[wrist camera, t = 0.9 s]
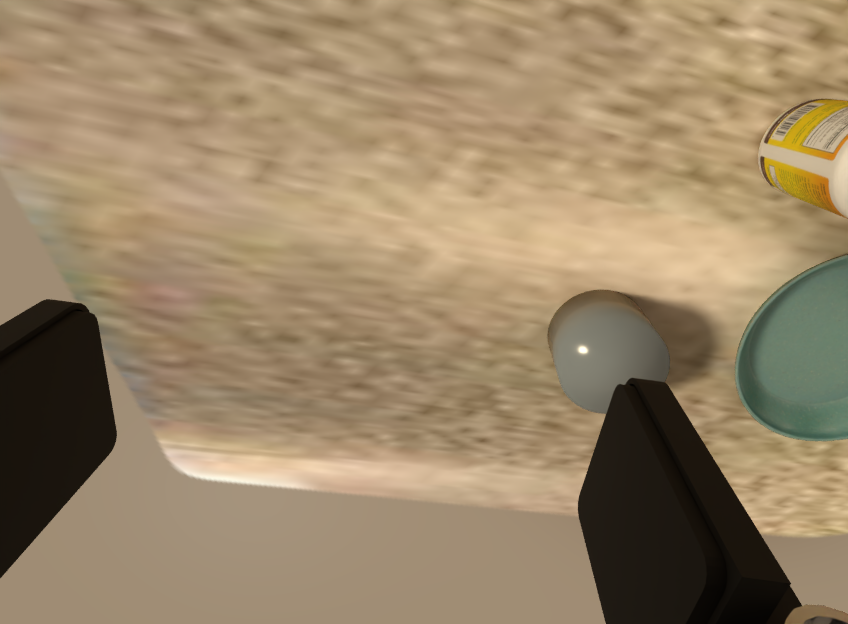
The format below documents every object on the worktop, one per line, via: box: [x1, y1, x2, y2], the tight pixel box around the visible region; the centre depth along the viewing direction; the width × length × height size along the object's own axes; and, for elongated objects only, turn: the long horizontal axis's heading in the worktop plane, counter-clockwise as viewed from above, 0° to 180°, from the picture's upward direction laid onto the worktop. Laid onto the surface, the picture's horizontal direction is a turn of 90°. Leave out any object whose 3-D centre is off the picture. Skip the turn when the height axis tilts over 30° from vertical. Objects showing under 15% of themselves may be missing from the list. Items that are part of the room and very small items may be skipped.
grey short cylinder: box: [548, 290, 670, 414], centre depth 37 cm, size 7×7×5 cm
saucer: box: [735, 255, 848, 441], centre depth 37 cm, size 15×15×3 cm
